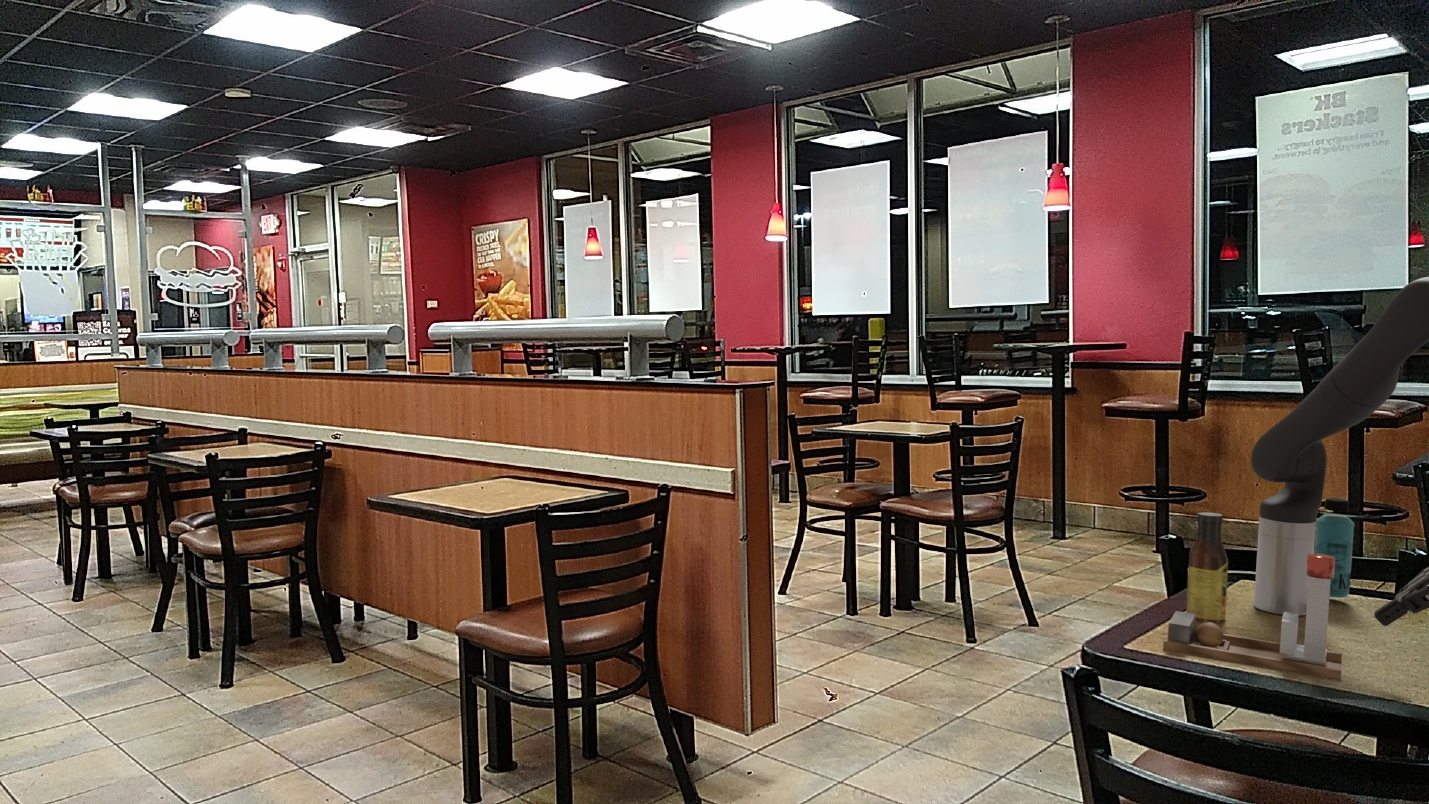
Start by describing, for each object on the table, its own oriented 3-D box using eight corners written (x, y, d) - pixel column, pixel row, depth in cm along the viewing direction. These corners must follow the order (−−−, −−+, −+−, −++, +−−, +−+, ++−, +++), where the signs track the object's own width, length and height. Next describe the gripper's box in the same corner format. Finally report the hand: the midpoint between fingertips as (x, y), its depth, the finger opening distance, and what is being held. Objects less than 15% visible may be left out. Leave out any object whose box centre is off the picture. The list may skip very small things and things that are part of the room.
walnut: (1191, 642, 163) (1192, 618, 163) (1217, 643, 163) (1218, 619, 162) (1200, 650, 159) (1201, 625, 159) (1226, 652, 159) (1228, 627, 158)
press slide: (1328, 658, 155) (1335, 553, 154) (1327, 672, 149) (1334, 562, 148) (1281, 651, 159) (1288, 548, 157) (1278, 663, 153) (1285, 556, 151)
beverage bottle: (1303, 595, 198) (1309, 495, 196) (1337, 596, 198) (1344, 495, 196) (1321, 605, 192) (1328, 501, 190) (1357, 606, 191) (1364, 502, 190)
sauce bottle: (1229, 632, 174) (1236, 518, 172) (1190, 629, 175) (1197, 516, 173) (1218, 621, 180) (1225, 511, 179) (1181, 618, 181) (1187, 509, 180)
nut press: (1340, 669, 156) (1342, 634, 155) (1339, 689, 147) (1342, 652, 147) (1171, 641, 168) (1173, 609, 168) (1162, 657, 160) (1164, 624, 160)
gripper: (1462, 520, 148) (1358, 590, 155) (1471, 536, 137) (1358, 610, 144) (1505, 561, 145) (1397, 629, 153) (1518, 580, 134) (1401, 653, 142)
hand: (1378, 620), depth 148 cm, fingers closed
